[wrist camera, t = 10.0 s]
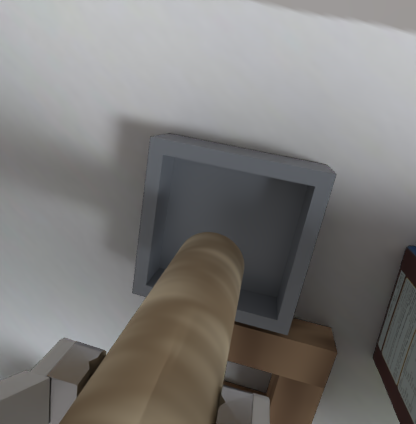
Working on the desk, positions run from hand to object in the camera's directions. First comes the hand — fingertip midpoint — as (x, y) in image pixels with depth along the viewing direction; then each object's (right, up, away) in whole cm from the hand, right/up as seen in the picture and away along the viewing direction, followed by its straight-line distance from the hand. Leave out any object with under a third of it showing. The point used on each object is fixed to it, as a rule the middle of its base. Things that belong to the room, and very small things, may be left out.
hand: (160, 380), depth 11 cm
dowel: (+2, +2, +9) cm, 9 cm away
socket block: (+5, -8, +19) cm, 21 cm away
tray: (+3, +5, +16) cm, 17 cm away
